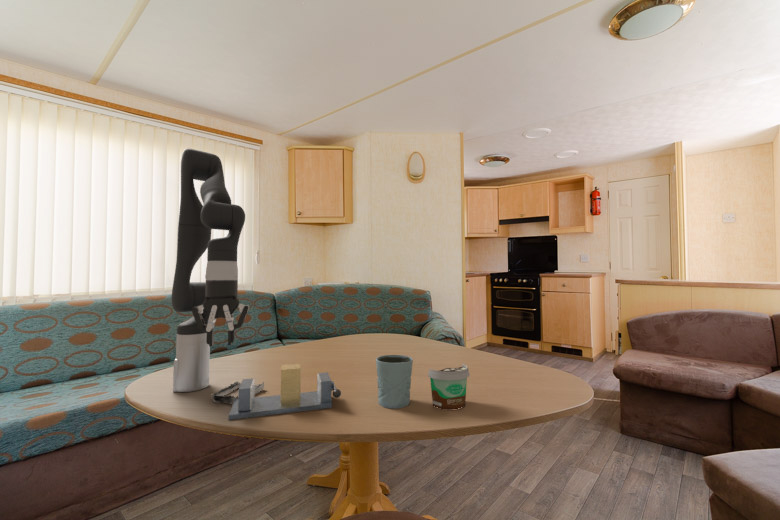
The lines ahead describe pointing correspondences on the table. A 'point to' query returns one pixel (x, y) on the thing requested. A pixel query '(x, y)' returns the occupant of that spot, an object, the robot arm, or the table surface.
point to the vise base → (307, 402)
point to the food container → (449, 387)
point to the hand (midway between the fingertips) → (220, 345)
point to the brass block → (290, 383)
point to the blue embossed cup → (394, 380)
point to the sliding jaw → (246, 395)
